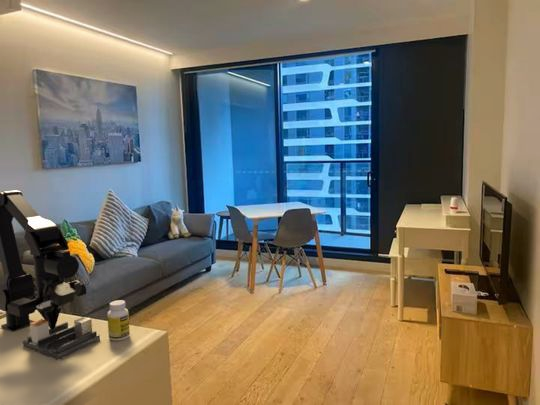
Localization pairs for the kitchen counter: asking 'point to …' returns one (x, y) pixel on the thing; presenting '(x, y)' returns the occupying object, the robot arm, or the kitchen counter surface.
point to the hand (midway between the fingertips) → (52, 328)
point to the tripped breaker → (39, 330)
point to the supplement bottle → (118, 321)
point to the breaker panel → (65, 339)
